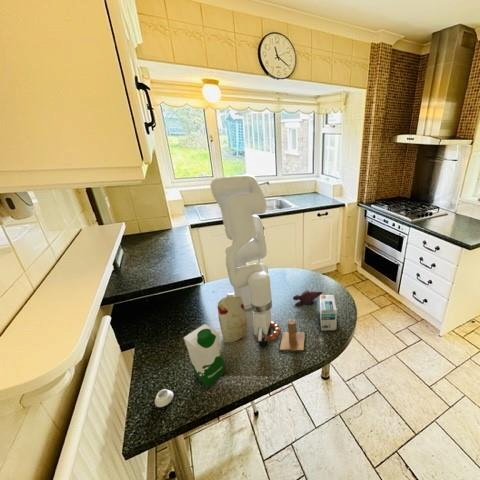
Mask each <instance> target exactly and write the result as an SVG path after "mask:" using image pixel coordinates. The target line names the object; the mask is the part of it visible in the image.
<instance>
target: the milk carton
mask: <svg viewBox="0 0 480 480" xmlns="http://www.w3.org/2000/svg"><path fill="white" fill-rule="evenodd" d="M183 341H184V343H185V346H186V348H187V349H186V350H187V352H188V355H189V359H190V362H191V366H192V370H193V373H194V376H195V377H196V378H197V379H198V380H199V382H201V383H202V384H203V385H205V386H206V388H210V387H211V386H212V385H213V384H214V383H215V382H216V381H218V380H219V379H220V378H221V377H223V373H225V371H226V366H225V361H224V357H223V352H222V347H221V343H220V333H219V332H218V331H217V330H215V329H213V328H212V327H211V326H210V325H209V326H208V325H207V324H206V323H203V324H201V326H199V327H198V328H196V329H195V330H193V331H191V332H189V333H188V334H187V335H186V336H183Z"/></svg>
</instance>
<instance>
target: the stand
mask: <svg viewBox="0 0 480 480" xmlns="http://www.w3.org/2000/svg"><path fill="white" fill-rule="evenodd" d="M287 329H288V331H282V335H281V339H280V346H279V351H304V350H305V336H306V331H297V320H296V319H294V318H290V319H288V320H287Z"/></svg>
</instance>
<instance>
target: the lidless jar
mask: <svg viewBox="0 0 480 480" xmlns="http://www.w3.org/2000/svg"><path fill="white" fill-rule="evenodd" d="M173 399H174V392H173V391H172V390H169V389H167V388H163V389H161V390H159V391H158V392H157V394H156V397H155V398H154V405H155V407H157V408H163V407H165V406H167V405H169V404H170V403H171V402H172V400H173Z"/></svg>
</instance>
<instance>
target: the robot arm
mask: <svg viewBox="0 0 480 480" xmlns="http://www.w3.org/2000/svg"><path fill="white" fill-rule="evenodd" d="M210 191H211V194H212V196H213V198H214V200H215V201H216V203H217V206H218V207H219V209H220V213H221V218H222V223H223V228H224V232H225V236H226V238H227V239H228V240H229V241H232V242H231V243H230V244H229V245H228V246H226V247H225V265H226V270H227V276H228V280H229V283H230V285H231V286H232V287H233V293H226V297H229V296H231V297H241V298H242V300H243V304H244V308H245V310H246V309H251V311H252V312H253V313H252V316H253V317H252V322H253V335H254V334H255V335H257V334H258V339H257V342H258V346H259V347H260V348H263V349H264V348H266V347H269V341H267V339H266V336H268V334H272V327H271V326H270V322H271V321H272V308H273V300H272V299H273V298H272V288H271V278H270V275H269V269H268V266H267V264H266V263H264V262H262V261H259V262H254V261H258V260H261V259H264V258H266V256H267V252H268V250H267V243H266V236H265V230H264V229H265V228H264V225H263V221H262V219H261V218H260V216H259V215H263V214H265V213H266V212H267V208H268V206H267V200H266V197H265V194H264V192H263V190H262V187H261V186H260V184H259V182H258V180H257V178H256V177H255V176H254V175H251V174H242V175H241V174H240V175H229V176H221V177H217V178H213V179H212V180H211V182H210ZM250 262H254V263H251V264H249V263H250ZM255 335H254V336H255ZM262 335H264V338H262Z"/></svg>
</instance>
